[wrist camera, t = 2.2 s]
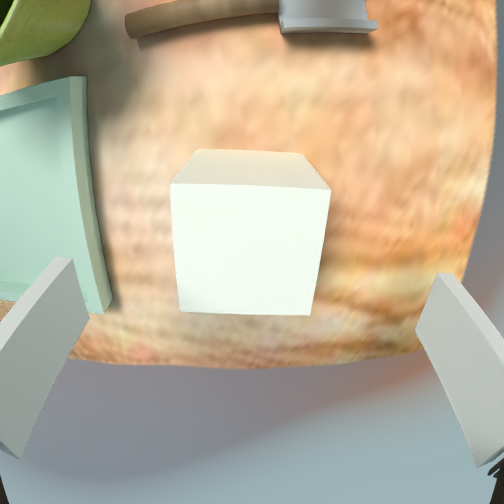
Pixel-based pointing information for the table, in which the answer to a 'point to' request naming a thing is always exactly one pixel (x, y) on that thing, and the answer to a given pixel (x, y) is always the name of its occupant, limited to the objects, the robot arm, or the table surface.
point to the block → (248, 232)
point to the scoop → (247, 3)
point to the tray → (48, 190)
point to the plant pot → (38, 27)
